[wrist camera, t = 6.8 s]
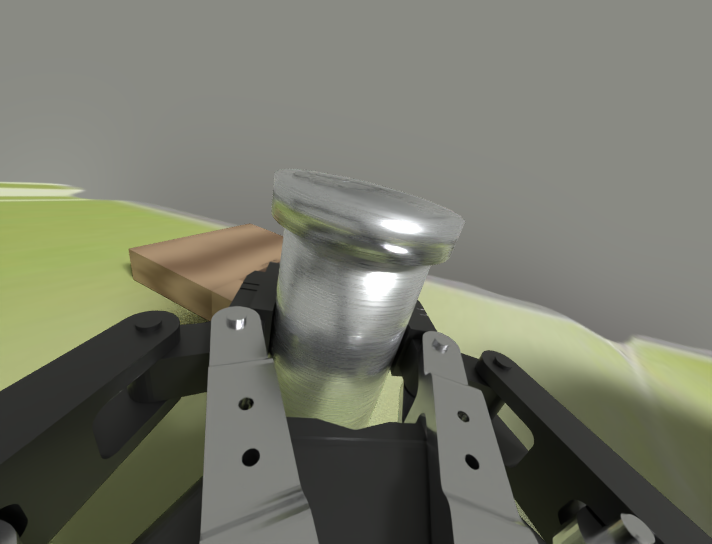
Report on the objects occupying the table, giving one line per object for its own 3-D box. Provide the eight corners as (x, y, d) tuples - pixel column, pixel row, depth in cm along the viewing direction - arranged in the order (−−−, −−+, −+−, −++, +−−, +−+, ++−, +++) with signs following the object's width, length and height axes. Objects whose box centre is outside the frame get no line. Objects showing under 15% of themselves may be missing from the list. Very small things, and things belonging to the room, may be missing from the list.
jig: (133, 279, 24) (128, 248, 22) (249, 244, 36) (250, 223, 35) (323, 384, 18) (331, 351, 17) (384, 301, 30) (391, 278, 29)
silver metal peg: (218, 464, 11) (225, 165, 6) (294, 379, 16) (334, 171, 11) (328, 548, 10) (459, 243, 5) (377, 427, 14) (467, 211, 9)
